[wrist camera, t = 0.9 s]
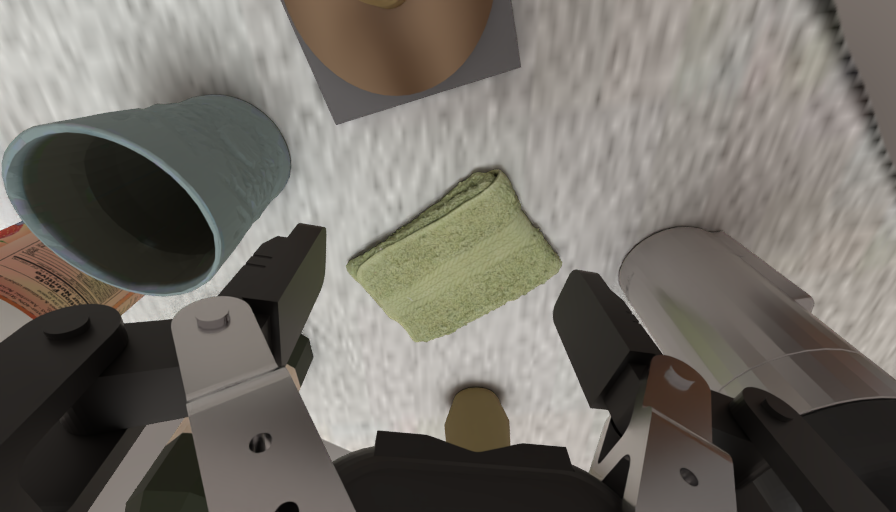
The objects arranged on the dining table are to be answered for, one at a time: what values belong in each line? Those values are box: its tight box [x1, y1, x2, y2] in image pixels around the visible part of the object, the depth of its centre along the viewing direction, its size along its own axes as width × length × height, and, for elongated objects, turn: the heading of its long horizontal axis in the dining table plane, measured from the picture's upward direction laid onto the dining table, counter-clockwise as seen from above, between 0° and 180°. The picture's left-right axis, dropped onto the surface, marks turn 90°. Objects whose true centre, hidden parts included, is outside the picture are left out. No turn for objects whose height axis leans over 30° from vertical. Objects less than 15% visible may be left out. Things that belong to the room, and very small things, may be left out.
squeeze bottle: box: [445, 387, 510, 452], centre depth 38 cm, size 8×8×18 cm
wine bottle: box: [125, 334, 313, 512], centre depth 28 cm, size 8×8×30 cm
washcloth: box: [346, 169, 562, 342], centre depth 32 cm, size 13×18×3 cm
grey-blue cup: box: [2, 95, 291, 297], centre depth 23 cm, size 10×10×12 cm
